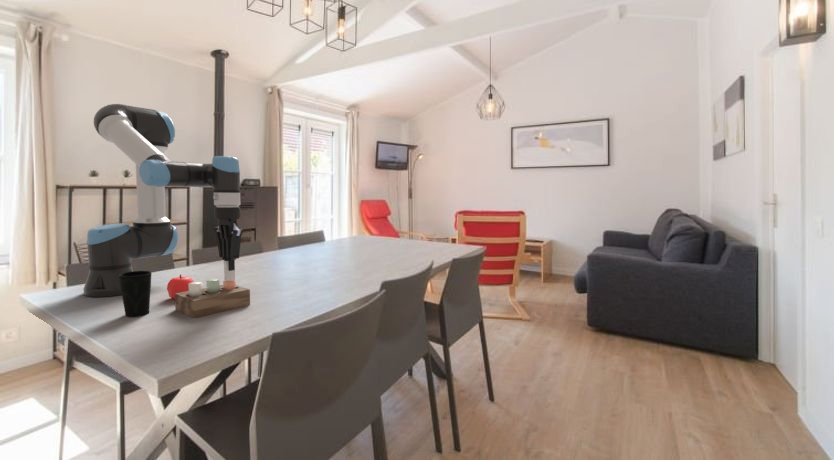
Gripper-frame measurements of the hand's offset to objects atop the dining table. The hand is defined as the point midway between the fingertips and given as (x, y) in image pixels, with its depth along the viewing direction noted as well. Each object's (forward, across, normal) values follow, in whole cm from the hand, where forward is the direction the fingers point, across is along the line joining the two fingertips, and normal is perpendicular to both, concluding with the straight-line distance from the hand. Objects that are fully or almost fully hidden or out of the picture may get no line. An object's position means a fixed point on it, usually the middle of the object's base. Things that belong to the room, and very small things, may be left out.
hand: (229, 280), depth 124 cm
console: (+8, 0, -5) cm, 9 cm away
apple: (+8, -18, -7) cm, 21 cm away
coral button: (+4, 0, 0) cm, 4 cm away
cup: (+8, -10, -22) cm, 26 cm away
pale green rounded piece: (+3, 0, -5) cm, 6 cm away
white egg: (+3, 0, -10) cm, 11 cm away
